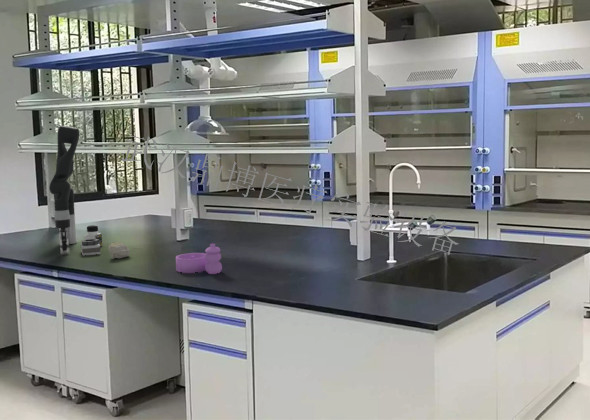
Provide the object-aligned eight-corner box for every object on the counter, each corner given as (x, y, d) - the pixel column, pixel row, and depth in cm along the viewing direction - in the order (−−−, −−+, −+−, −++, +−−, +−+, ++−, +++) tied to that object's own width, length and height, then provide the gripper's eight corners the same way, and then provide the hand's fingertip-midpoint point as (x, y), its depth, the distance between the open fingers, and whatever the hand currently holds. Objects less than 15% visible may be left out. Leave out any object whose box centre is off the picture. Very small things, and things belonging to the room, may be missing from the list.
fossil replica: (133, 255, 337) (114, 257, 337) (131, 240, 336) (112, 242, 337) (126, 258, 325) (107, 260, 325) (124, 242, 324) (105, 244, 325)
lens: (60, 253, 347) (59, 238, 346) (69, 253, 349) (68, 238, 348) (60, 255, 343) (59, 240, 342) (69, 254, 345) (68, 239, 344)
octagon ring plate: (81, 252, 351) (80, 239, 350) (98, 250, 354) (97, 237, 353) (82, 255, 340) (81, 242, 339) (100, 254, 343) (99, 241, 342)
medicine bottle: (96, 247, 364) (94, 226, 363) (84, 247, 366) (83, 226, 364) (102, 245, 371) (101, 224, 370) (91, 245, 372) (89, 224, 371)
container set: (169, 270, 296) (167, 242, 294) (194, 264, 308) (193, 237, 306) (207, 277, 280) (205, 247, 279) (231, 270, 292) (230, 242, 290)
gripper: (70, 219, 338) (72, 251, 340) (69, 216, 352) (71, 246, 354) (55, 220, 336) (57, 252, 338) (54, 217, 349) (56, 248, 351)
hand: (64, 249), depth 346 cm, fingers open, 6 cm apart
